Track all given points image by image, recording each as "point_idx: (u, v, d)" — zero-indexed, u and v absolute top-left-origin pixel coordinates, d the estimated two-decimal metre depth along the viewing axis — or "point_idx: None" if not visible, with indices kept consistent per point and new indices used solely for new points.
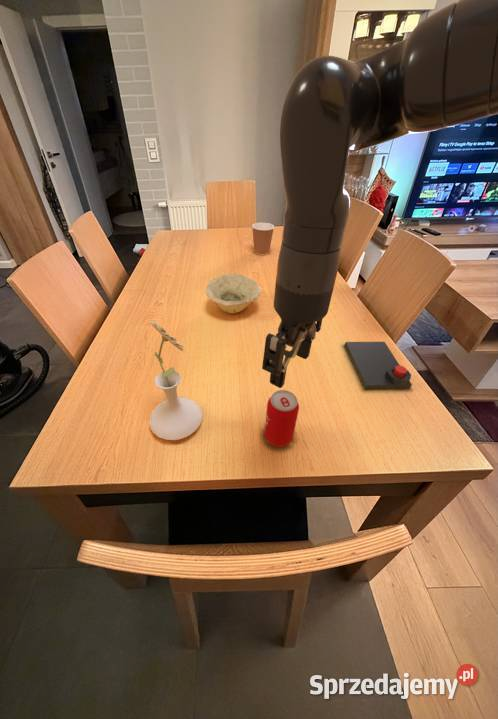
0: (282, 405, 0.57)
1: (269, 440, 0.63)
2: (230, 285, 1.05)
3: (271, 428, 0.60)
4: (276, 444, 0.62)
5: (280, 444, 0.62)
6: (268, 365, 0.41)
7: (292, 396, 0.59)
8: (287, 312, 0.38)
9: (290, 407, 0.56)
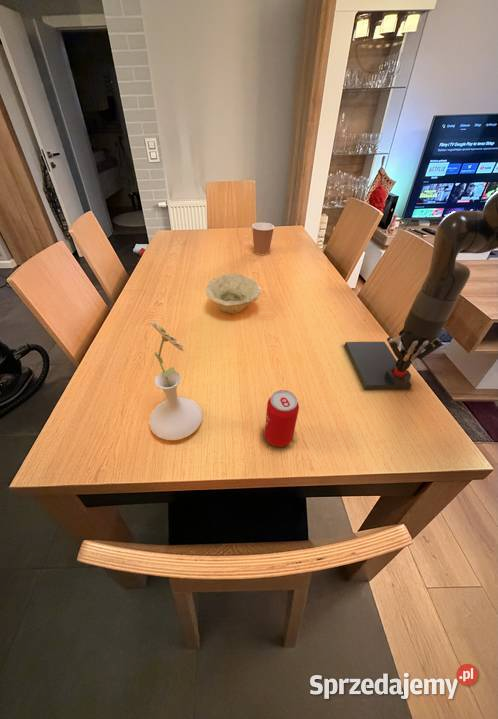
0: (282, 405, 0.57)
1: (269, 440, 0.63)
2: (230, 285, 1.05)
3: (271, 428, 0.60)
4: (276, 444, 0.62)
5: (280, 444, 0.62)
6: None
7: (292, 396, 0.59)
8: (407, 323, 0.67)
9: (290, 407, 0.56)
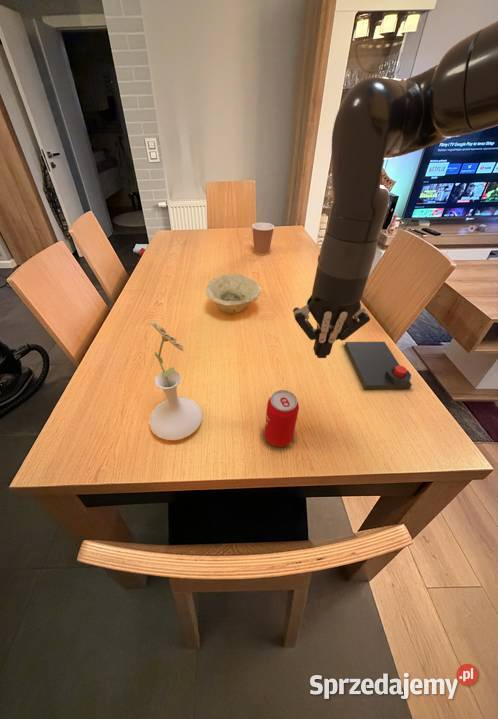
0: (282, 405, 0.57)
1: (269, 440, 0.63)
2: (230, 285, 1.05)
3: (271, 428, 0.60)
4: (276, 444, 0.62)
5: (280, 444, 0.62)
6: None
7: (292, 396, 0.59)
8: (314, 285, 0.46)
9: (290, 407, 0.56)
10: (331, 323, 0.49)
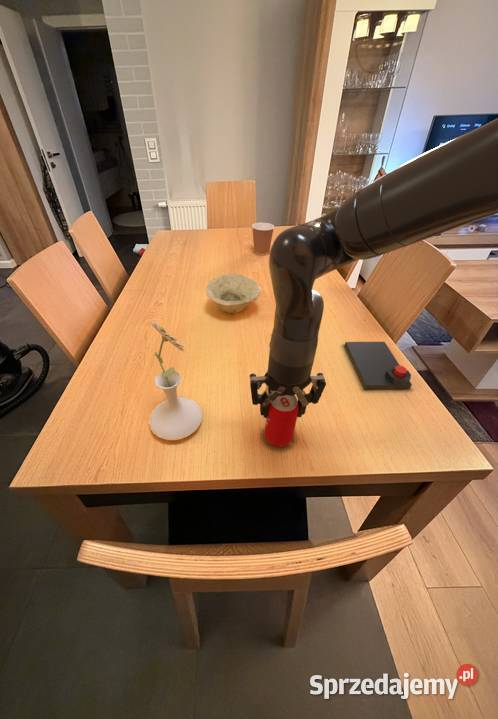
0: (282, 405, 0.57)
1: (269, 440, 0.63)
2: (230, 285, 1.05)
3: (271, 428, 0.60)
4: (276, 444, 0.62)
5: (280, 444, 0.62)
6: None
7: (292, 396, 0.59)
8: (268, 365, 0.51)
9: (290, 407, 0.56)
10: (294, 395, 0.55)
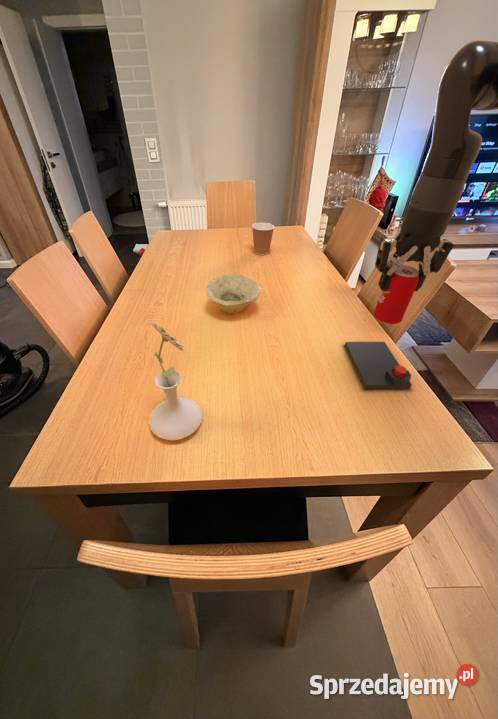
0: (406, 273, 0.60)
1: (382, 318, 0.67)
2: (230, 285, 1.05)
3: (389, 301, 0.64)
4: (389, 321, 0.66)
5: (393, 321, 0.66)
6: (379, 263, 0.60)
7: (411, 269, 0.62)
8: (404, 223, 0.55)
9: (413, 274, 0.60)
10: (419, 260, 0.59)
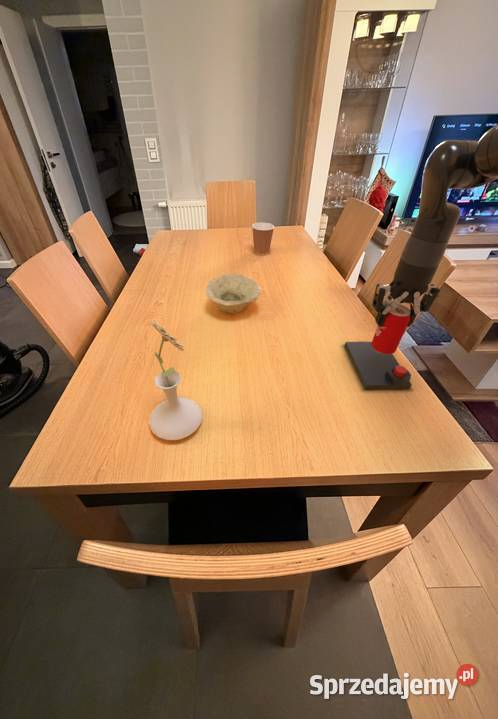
0: (399, 312, 0.70)
1: (379, 349, 0.76)
2: (230, 285, 1.05)
3: (385, 335, 0.73)
4: (385, 352, 0.75)
5: (389, 351, 0.75)
6: (375, 304, 0.70)
7: (404, 308, 0.72)
8: (397, 273, 0.64)
9: (405, 314, 0.69)
10: (410, 302, 0.68)
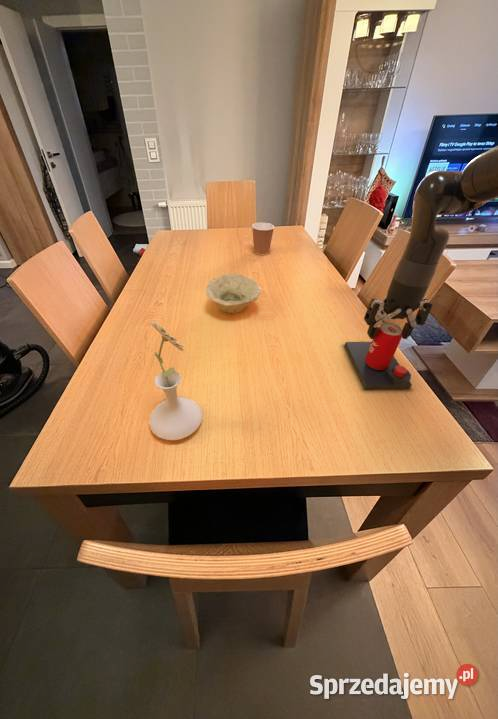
0: (391, 331, 0.73)
1: (372, 365, 0.79)
2: (230, 285, 1.05)
3: (378, 353, 0.76)
4: (378, 367, 0.79)
5: (381, 367, 0.79)
6: (367, 317, 0.72)
7: (396, 326, 0.75)
8: (390, 291, 0.67)
9: (397, 333, 0.73)
10: None
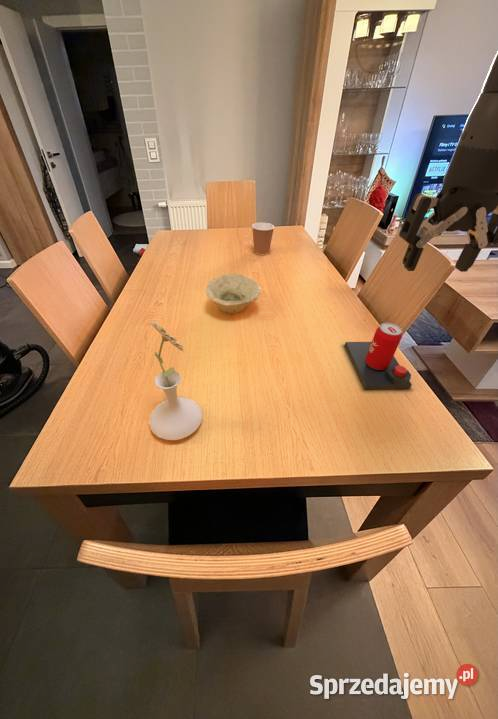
0: (391, 331, 0.73)
1: (372, 365, 0.79)
2: (230, 285, 1.05)
3: (378, 353, 0.76)
4: (378, 367, 0.79)
5: (381, 367, 0.79)
6: (405, 231, 0.43)
7: (396, 326, 0.75)
8: (450, 174, 0.39)
9: (397, 333, 0.73)
10: (471, 229, 0.42)
